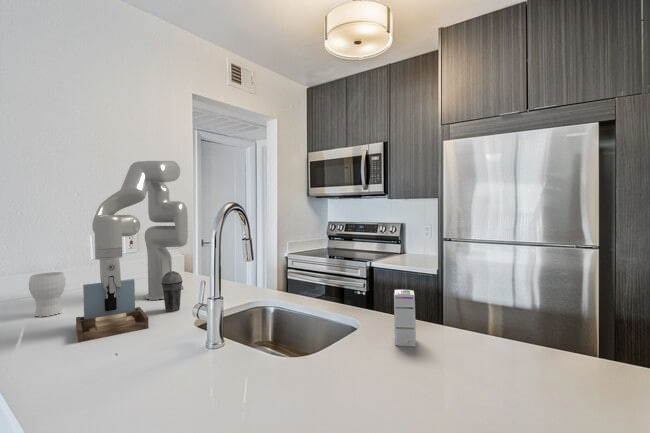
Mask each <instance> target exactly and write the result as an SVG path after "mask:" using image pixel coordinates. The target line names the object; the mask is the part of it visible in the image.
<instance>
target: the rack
mask: <svg viewBox="0 0 650 433" xmlns="http://www.w3.org/2000/svg"><path fill="white" fill-rule="evenodd" d="M120 314H122V313H120ZM114 315H115V314H114ZM126 315H127V317H128V316H132V317H133V318H134V319H135V322H136V323H134V324H129V325H124V326H119V327H113V328H108V329H103V330H98V331H93V332H90V331H89V328H95V323H96V318H91V319H85V320H84V316H77V317H75V322H76V325H75V326H76V328H75V329H76V335H77V343H83V342H88V341H89V342H90V341H92V340H98V339H102V338H108V337H112V336H118V335H123V334H127V333H132V332H137V331H143V330H146V329H147V330H148V329H149V328H150V327H149V316H148V315H147V314H146V312H144V310H143V309H142V308H141V307H140V306H135V311H132V312H126ZM108 316H109V315H108Z"/></svg>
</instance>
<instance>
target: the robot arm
mask: <svg viewBox="0 0 650 433" xmlns="http://www.w3.org/2000/svg"><path fill="white" fill-rule="evenodd" d="M180 176H181V168H180V164H178V163H177V161H176V160H175V161H174V160H143V161H141V160H139V161H135V162H133V163H131V164H130V166H129V169H128V171H127V173H126V175H125V177H124V180H123V182H122V185H121V187H120V189H119V190H117V191H116V192H115V193H113V194H112V195H110V196H109V197H107V198H105V200H103V202H102V203H101V204H99V206H98V208H97V209H96V212H95V215H94V217H93V220H92V231H93V234H94V255H95V256H94V257H95V260H99V275H100V277H99V278H100V283H102V287H103V289H104V290H105V294H106V299H105V311H112V310H116V309H117V302H116V286H117V287H118V288H121V280H122V277H121V263H120V259H121V258H123V237H133V236H135V235H136V234H138V232H139V231H140V229H141V221H140V220H139V218H138V217H137V216H135V215H131V214H116V213H117V212H119V211H121V210H123V209H126V208H129V207H132V206H134V205H136V204H139V203H141V202H143V201H144V200H145V199H146V196H147V207H148V209H147V212H148V218H149V220H150V221H151V222H152V223H160V224H161V223H167V224H168V223H170V224H171V223H172V224H173V223H174V225H153V226H150V227H148V228H147V229H146V230H145V232H144V241H145V242H144V243H145V245H146V246H145V247H146V253H147V285H148V286H147V288H148V290H147V291H148V293H146V294H145V295H144V296H143V297H144V299H145V300H147V299H149V300H148V301H159V299H162V300H164V293H163V288H162V284H161V283H162V279H163V277H164V275H165V274H166V273H168V272H170V264H169V260H171V270H172V271H173V269H172V266H173V264H172V255H171V252H170V251H169V250H168V249H167V248H181V247H184V246H186V245H187V243H188V240H189V239H188V237H189V230H188V227H189V225H188V224H189V222H188V221H189V220H188V219H189V218H188V214H189V213H188V207H187V206H186V203H184V202H182V201H177V200H175V201H173V200H170V190H169V187H168V186H167V184H165V183H170V182H175V181H177V180H178V179H179V177H180ZM108 287H109V289H107V288H108ZM183 290H184V285H182V287H181V291H183Z"/></svg>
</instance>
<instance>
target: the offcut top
mask: <svg viewBox="0 0 650 433" xmlns="http://www.w3.org/2000/svg"><path fill="white" fill-rule="evenodd" d="M123 321H127V315H126V313H122V314H115V315H109V316H103V317H96V326H99V325H105V324H111V323H117V322H123Z"/></svg>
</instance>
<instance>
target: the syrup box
mask: <svg viewBox="0 0 650 433" xmlns="http://www.w3.org/2000/svg"><path fill="white" fill-rule="evenodd" d="M415 296H416V295H415V290H412V289H394V292H393V308H394V309H393V312H394V313H393V314H394V315H393V316H394V345H395V346H399V347H413V348H414V347H415V348H416V346H417V337H416V336H417V334H416V333H417V332H416V322H417V321H416V299H415Z"/></svg>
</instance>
